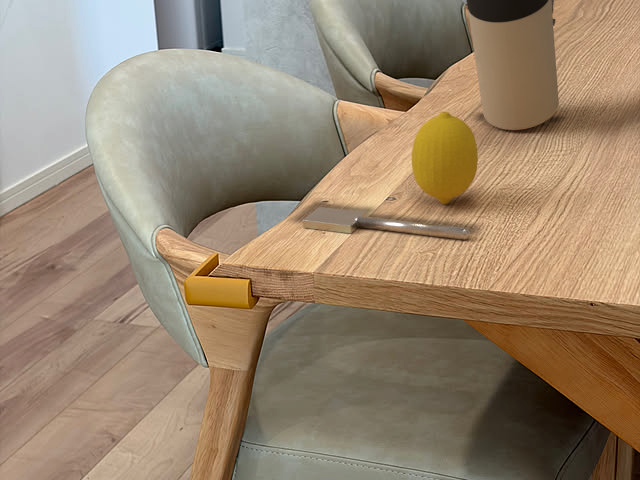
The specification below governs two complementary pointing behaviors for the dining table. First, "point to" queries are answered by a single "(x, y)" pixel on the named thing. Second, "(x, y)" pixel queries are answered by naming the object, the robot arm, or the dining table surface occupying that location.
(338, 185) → the dining table surface
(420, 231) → the silver knife
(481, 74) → the travel mug
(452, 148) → the lemon
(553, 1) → the robot arm
